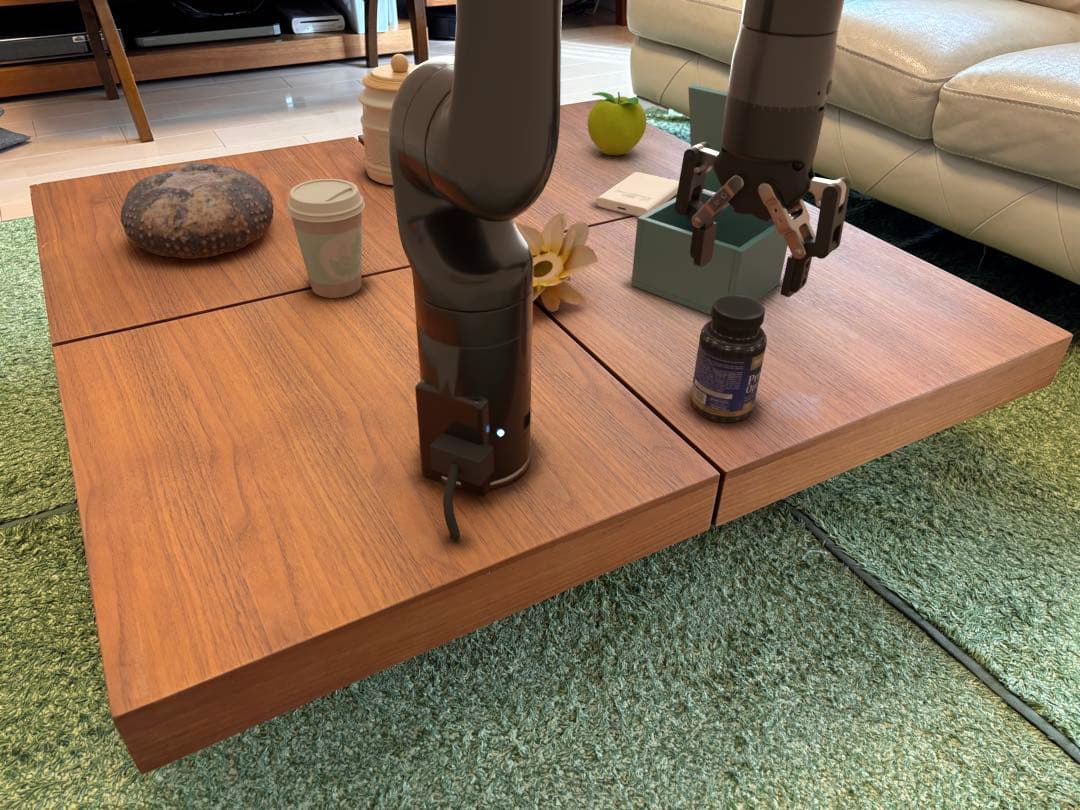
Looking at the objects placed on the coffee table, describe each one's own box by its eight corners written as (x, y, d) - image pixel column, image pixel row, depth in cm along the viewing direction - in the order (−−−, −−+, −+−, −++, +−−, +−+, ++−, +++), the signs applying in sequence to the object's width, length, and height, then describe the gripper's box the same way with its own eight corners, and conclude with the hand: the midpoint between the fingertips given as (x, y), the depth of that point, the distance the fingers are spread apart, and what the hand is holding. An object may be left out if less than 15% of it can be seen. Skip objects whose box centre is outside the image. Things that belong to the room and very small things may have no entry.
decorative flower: (452, 262, 102) (469, 184, 96) (531, 264, 108) (552, 191, 102) (503, 326, 92) (527, 243, 86) (588, 325, 97) (614, 247, 92)
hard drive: (681, 192, 127) (646, 219, 118) (633, 181, 130) (596, 206, 122) (683, 181, 126) (648, 208, 117) (634, 170, 129) (596, 195, 121)
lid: (799, 111, 87) (822, 87, 89) (688, 87, 94) (712, 64, 96) (792, 215, 97) (813, 190, 99) (692, 186, 104) (714, 163, 106)
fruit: (615, 166, 135) (620, 103, 130) (576, 151, 141) (579, 90, 135) (653, 155, 140) (660, 94, 134) (614, 140, 146) (618, 81, 140)
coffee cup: (316, 310, 95) (300, 211, 88) (290, 281, 101) (273, 185, 94) (385, 292, 99) (375, 195, 92) (356, 264, 105) (345, 171, 98)
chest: (729, 322, 95) (742, 251, 90) (630, 285, 102) (637, 217, 97) (779, 284, 103) (793, 217, 98) (684, 252, 110) (693, 187, 105)
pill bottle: (752, 428, 79) (774, 327, 72) (687, 419, 80) (703, 319, 73) (752, 392, 84) (772, 294, 77) (691, 384, 84) (706, 287, 78)
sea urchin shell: (112, 271, 100) (90, 187, 96) (147, 234, 117) (129, 161, 113) (272, 257, 104) (258, 176, 99) (284, 223, 120) (272, 152, 116)
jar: (354, 165, 133) (342, 48, 123) (430, 154, 138) (424, 40, 128) (382, 193, 124) (370, 69, 114) (462, 180, 129) (458, 60, 119)
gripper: (672, 82, 65) (653, 269, 75) (847, 119, 58) (801, 321, 68) (720, 63, 70) (696, 241, 80) (887, 96, 63) (838, 287, 72)
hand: (744, 278), depth 74 cm, fingers open, 8 cm apart
